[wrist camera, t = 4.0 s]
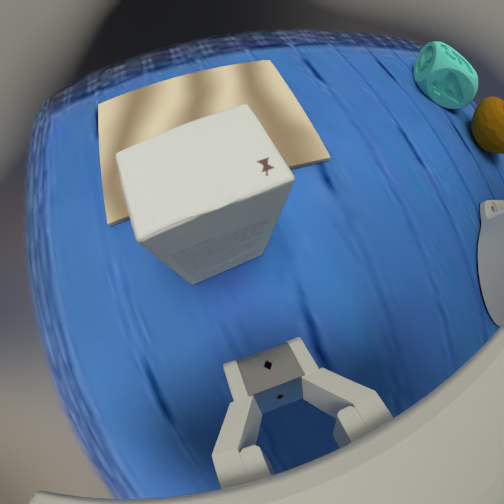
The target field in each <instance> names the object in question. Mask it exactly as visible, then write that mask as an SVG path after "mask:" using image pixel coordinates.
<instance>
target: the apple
mask: <svg viewBox="0 0 504 504" xmlns="http://www.w3.org/2000/svg"><path fill="white" fill-rule="evenodd" d="M471 131H472V134H473V136H474V139H475V140H476V142H477V144H478V145H479V146H480V147H481V148H482V149H484V150H485V151H487V152H491V153H501V154H502V153H504V101H503V100H501V99H499V98H497V97H487V98H485V99H484V100H483V101H482V102H481V103H480V104H479V105H478V106H477V108H476V110H475V112H474V116H473V120H472V124H471Z"/></svg>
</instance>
